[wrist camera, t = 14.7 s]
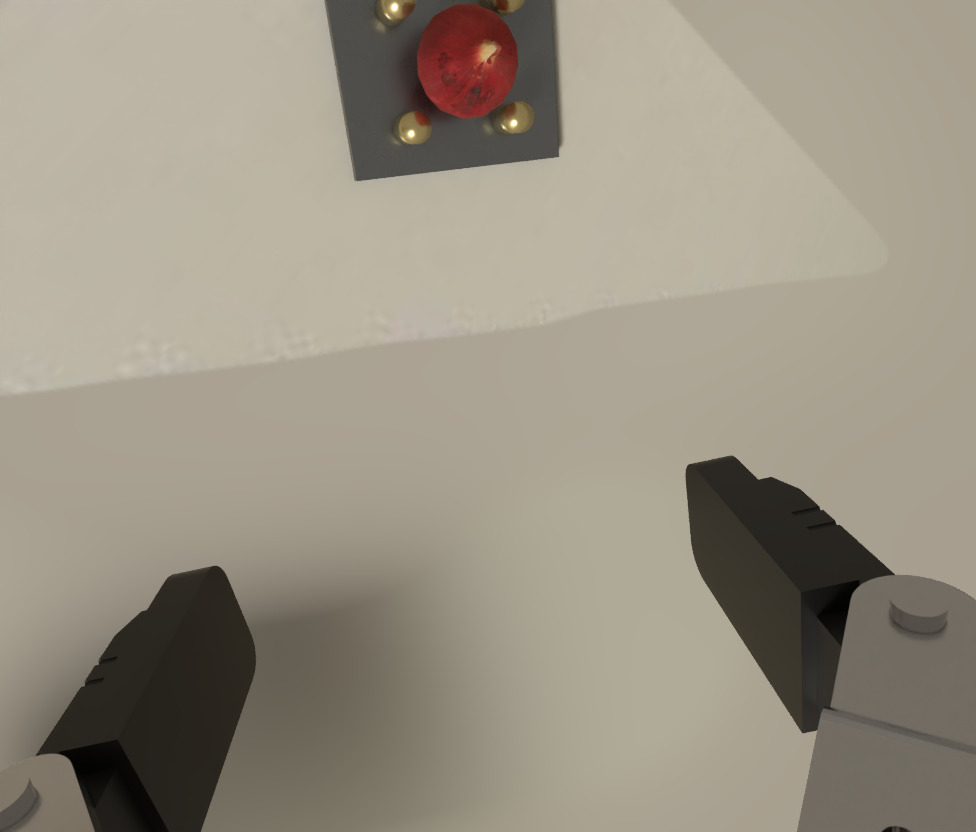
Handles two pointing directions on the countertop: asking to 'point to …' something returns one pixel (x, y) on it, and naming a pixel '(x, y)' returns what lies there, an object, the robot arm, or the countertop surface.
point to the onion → (467, 60)
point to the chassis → (409, 111)
